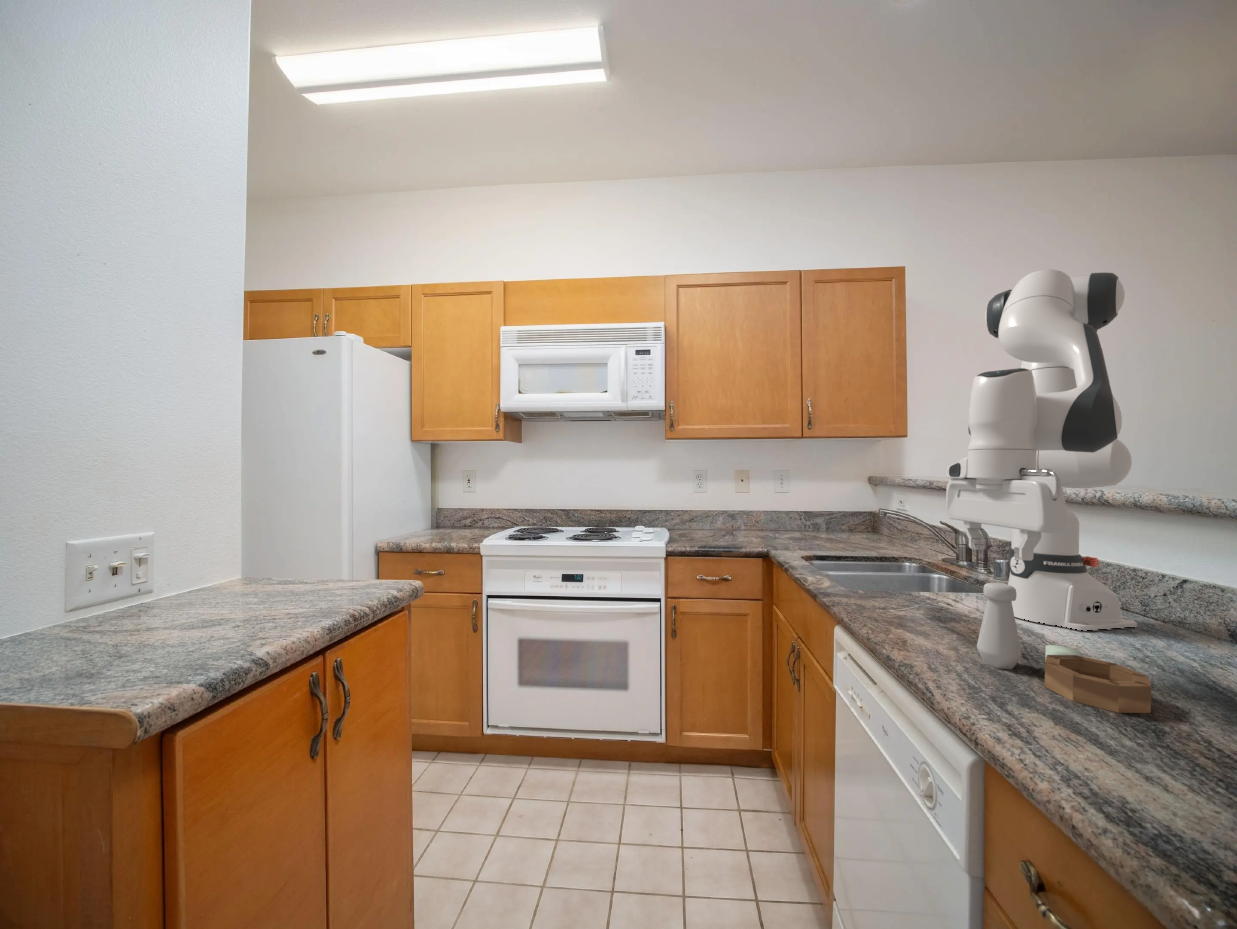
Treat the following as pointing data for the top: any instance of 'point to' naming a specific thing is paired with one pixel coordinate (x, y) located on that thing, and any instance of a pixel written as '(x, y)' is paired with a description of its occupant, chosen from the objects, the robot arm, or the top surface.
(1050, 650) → the smooth pale green pebble
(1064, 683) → the walnut ring
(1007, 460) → the robot arm
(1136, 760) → the top surface
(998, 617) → the salt shaker
